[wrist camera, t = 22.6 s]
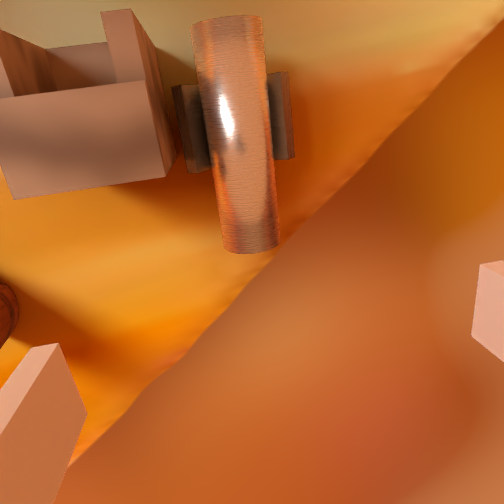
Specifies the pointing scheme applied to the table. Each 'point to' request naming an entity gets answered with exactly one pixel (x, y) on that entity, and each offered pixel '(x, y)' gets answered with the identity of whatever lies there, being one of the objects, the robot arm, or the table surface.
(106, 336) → the table surface
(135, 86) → the brown open box
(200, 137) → the v block
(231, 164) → the axle
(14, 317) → the wooden figurine
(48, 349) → the robot arm
